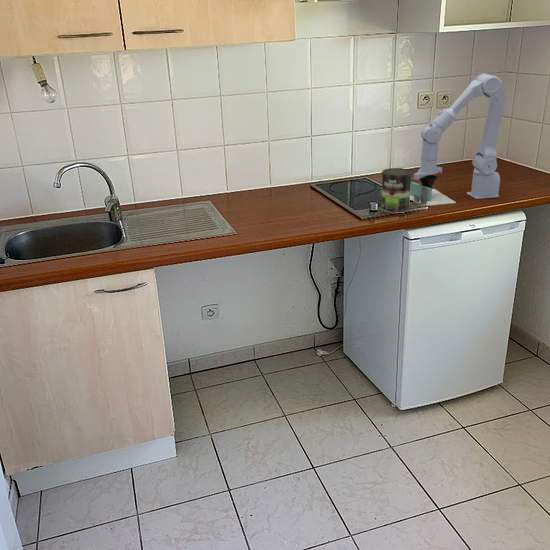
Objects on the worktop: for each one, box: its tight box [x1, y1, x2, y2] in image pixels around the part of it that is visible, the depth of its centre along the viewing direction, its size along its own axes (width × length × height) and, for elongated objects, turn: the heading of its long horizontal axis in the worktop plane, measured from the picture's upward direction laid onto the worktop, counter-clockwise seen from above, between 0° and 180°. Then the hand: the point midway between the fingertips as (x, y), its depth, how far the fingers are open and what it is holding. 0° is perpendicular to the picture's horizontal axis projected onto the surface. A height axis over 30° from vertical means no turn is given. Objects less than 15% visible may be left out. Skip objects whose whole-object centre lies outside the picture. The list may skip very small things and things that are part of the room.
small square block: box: [414, 188, 428, 205], centre depth 215 cm, size 3×6×6 cm, turn 10°
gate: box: [410, 181, 433, 201], centre depth 220 cm, size 2×11×4 cm, turn 26°
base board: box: [410, 188, 457, 207], centre depth 222 cm, size 15×19×1 cm
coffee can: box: [380, 167, 413, 214], centre depth 207 cm, size 10×10×14 cm
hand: (426, 194), depth 221 cm, fingers closed
